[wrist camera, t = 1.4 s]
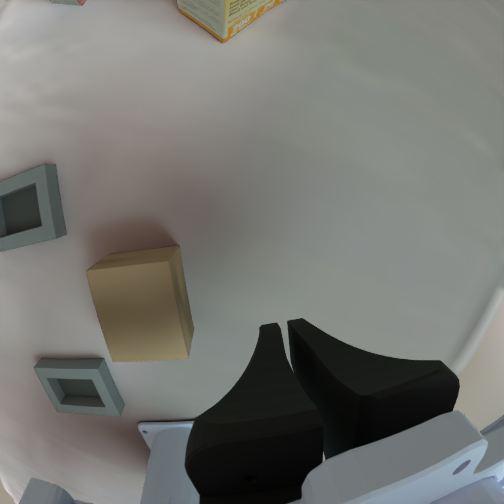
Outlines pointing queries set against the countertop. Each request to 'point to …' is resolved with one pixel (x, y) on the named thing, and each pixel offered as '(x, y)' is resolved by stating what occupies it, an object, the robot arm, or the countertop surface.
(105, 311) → the tan block
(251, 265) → the countertop surface
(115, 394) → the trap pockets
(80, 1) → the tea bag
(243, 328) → the countertop surface
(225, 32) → the supplement box
